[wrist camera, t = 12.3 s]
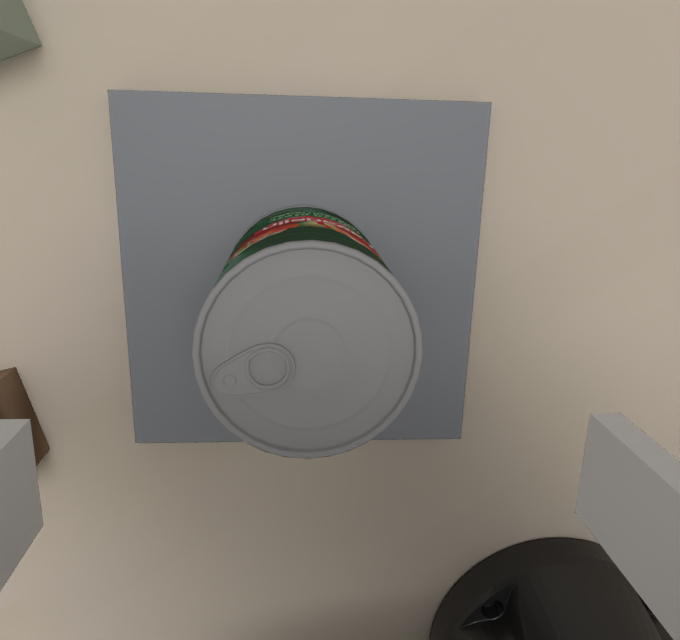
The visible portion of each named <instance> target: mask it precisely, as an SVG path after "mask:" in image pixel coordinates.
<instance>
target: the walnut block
mask: <svg viewBox="0 0 680 640" xmlns="http://www.w3.org/2000/svg"><path fill="white" fill-rule="evenodd" d="M0 419H30V422H31V430H32V438H33V446H34V454H35V462H36V466H37V465H38V463H39V462H40V461H41V459H42V458H43V457H44V455H45V454H46V453H47V452H48V450H49V449H50V447H49V445H48V442H47V440H46V438H45V435H44V433H43V431H42V428H41V426H40V424H39V421H38V419H37V416H36V414H35V412H34V409H33V407H32V405H31V402H30V400H29V398H28V395H27V393H26V390H25V388H24V386H23V383H22V381H21V379H20V376H19V374H18V372H17V369H16V367H14V368H9V369H5V370H1V371H0Z"/></svg>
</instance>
